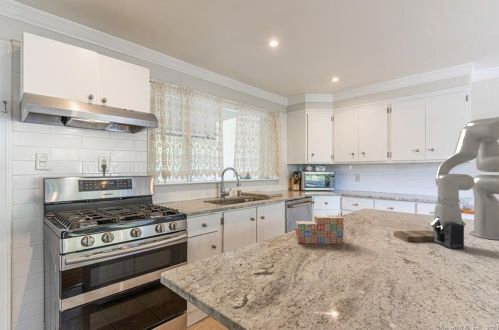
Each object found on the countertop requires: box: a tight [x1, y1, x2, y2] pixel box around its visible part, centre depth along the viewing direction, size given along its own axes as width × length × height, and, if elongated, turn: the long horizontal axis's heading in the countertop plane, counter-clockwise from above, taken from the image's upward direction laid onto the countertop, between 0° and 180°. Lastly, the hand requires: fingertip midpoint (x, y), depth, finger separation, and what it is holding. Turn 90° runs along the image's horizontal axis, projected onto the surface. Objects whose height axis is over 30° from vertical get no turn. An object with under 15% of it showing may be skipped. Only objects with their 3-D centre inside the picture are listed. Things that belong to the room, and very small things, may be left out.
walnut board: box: [393, 230, 434, 243], centre depth 124 cm, size 20×10×3 cm, turn 94°
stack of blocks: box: [294, 214, 345, 245], centre depth 119 cm, size 21×6×12 cm, turn 90°
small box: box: [432, 219, 465, 250], centre depth 114 cm, size 11×6×10 cm, turn 0°
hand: (448, 240), depth 114 cm, fingers closed on small box, 6 cm apart
